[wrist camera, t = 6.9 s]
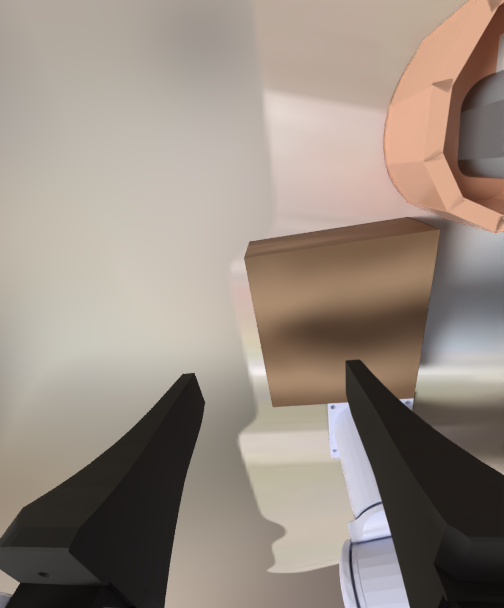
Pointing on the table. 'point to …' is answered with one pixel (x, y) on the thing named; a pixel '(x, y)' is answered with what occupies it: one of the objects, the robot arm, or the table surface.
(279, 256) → the board
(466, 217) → the bowl
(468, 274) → the table surface
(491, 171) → the connector
